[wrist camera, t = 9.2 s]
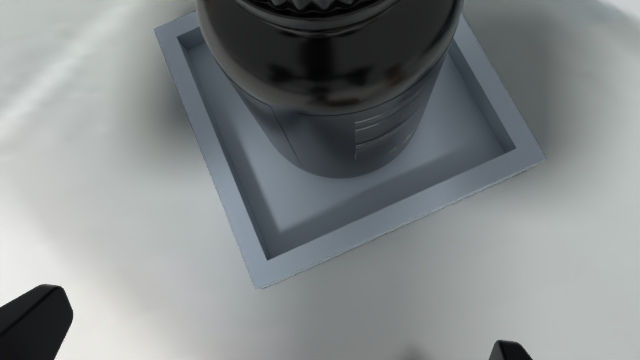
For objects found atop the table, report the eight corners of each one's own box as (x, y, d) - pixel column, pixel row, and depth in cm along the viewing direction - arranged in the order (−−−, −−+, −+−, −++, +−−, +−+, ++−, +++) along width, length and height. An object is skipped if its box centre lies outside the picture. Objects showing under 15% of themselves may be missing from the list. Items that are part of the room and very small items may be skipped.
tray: (529, 169, 19) (546, 158, 17) (265, 288, 19) (255, 289, 17) (401, -54, 21) (405, -84, 20) (170, 49, 21) (153, 29, 20)
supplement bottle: (421, 30, 20) (510, -328, 8) (422, 183, 18) (531, 22, 7) (267, 32, 20) (141, -296, 9) (257, 180, 19) (90, 26, 7)
